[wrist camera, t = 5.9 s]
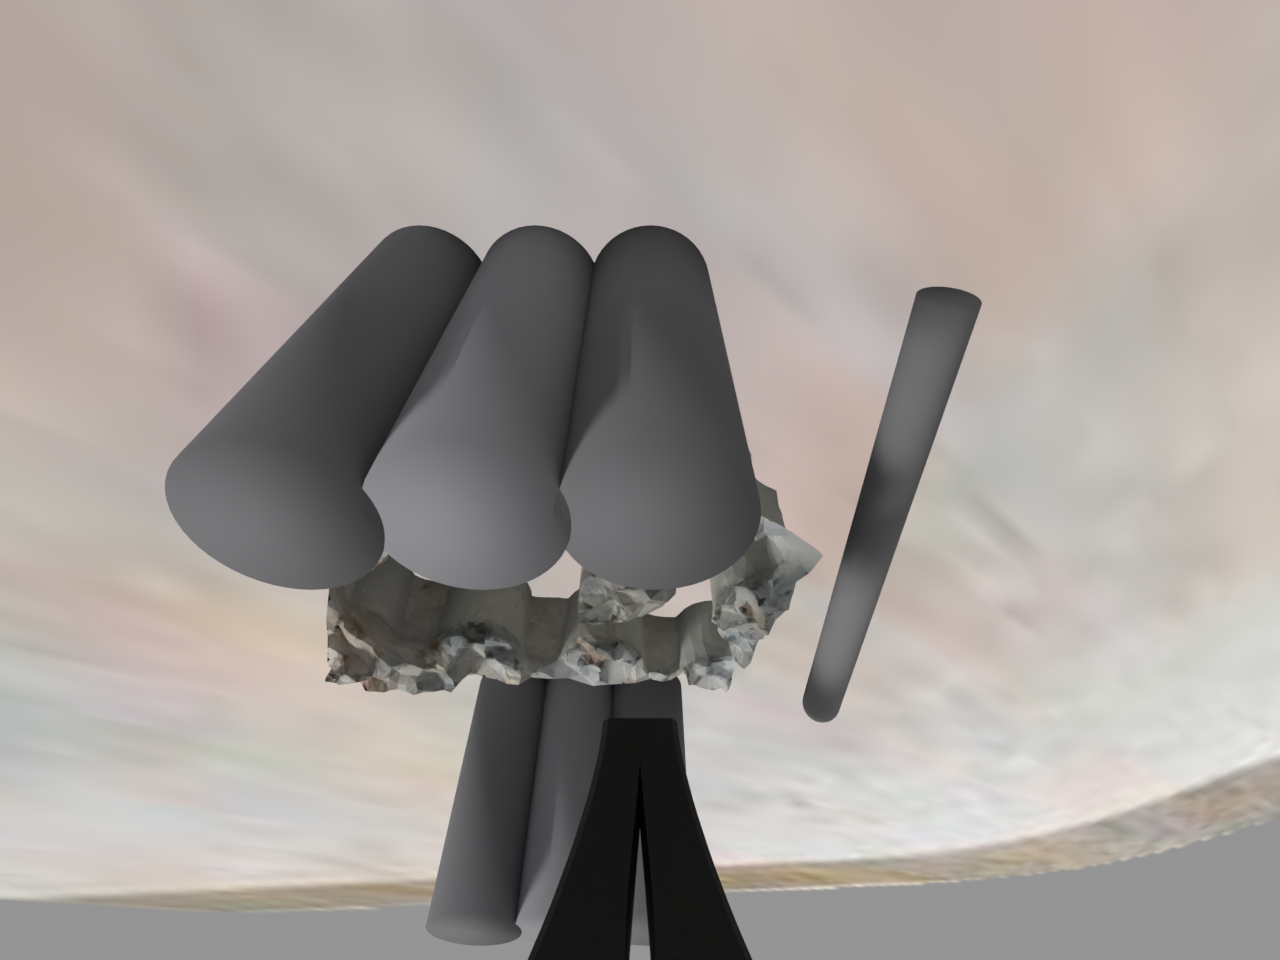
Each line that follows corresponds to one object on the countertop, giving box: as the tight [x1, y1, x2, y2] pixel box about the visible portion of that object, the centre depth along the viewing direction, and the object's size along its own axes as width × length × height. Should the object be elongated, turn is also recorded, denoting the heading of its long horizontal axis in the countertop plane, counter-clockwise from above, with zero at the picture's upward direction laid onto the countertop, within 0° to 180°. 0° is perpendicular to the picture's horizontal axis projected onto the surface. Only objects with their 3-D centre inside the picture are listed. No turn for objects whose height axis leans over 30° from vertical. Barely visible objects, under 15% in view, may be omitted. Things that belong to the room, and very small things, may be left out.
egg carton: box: [325, 451, 823, 695], centre depth 15 cm, size 11×8×4 cm
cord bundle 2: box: [165, 225, 761, 590], centre depth 10 cm, size 2×7×7 cm, turn 90°
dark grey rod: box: [802, 287, 982, 723], centre depth 17 cm, size 15×1×1 cm, turn 0°
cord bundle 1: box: [426, 676, 686, 946], centre depth 19 cm, size 2×7×7 cm, turn 90°
